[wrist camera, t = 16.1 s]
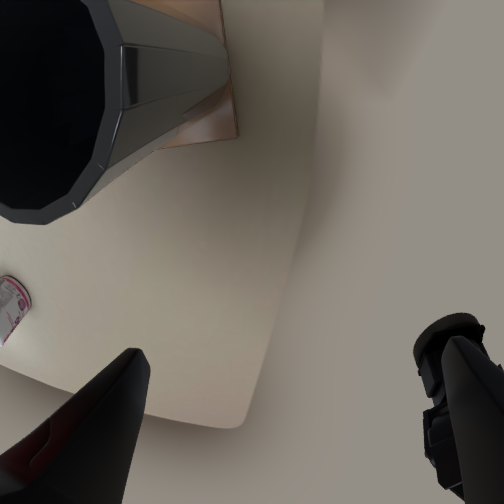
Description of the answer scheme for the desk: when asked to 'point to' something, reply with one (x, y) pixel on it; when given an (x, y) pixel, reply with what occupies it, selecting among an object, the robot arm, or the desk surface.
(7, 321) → the pill bottle
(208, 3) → the cork pad
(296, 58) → the desk surface
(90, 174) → the pencil cup
